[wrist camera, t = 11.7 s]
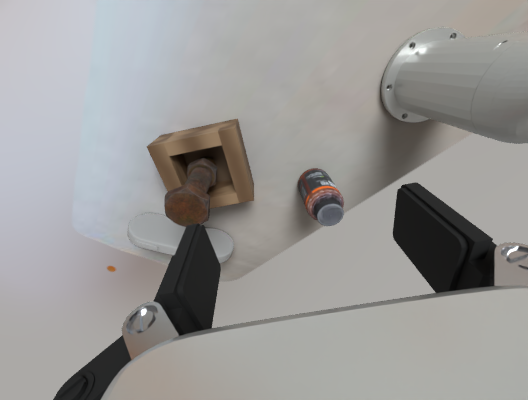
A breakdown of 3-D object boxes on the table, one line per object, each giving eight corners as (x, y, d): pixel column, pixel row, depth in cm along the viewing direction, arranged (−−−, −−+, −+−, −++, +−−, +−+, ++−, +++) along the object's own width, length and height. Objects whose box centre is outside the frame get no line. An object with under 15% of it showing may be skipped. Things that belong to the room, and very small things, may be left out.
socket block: (237, 118, 38) (235, 127, 33) (253, 183, 44) (253, 200, 39) (160, 135, 39) (146, 146, 34) (187, 196, 45) (178, 214, 40)
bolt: (221, 179, 43) (207, 231, 30) (192, 176, 42) (166, 227, 29) (223, 149, 40) (208, 191, 27) (192, 145, 39) (162, 186, 26)
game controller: (138, 217, 47) (117, 245, 40) (139, 208, 46) (118, 235, 39) (232, 241, 51) (229, 270, 44) (235, 233, 50) (232, 261, 43)
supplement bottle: (305, 200, 46) (318, 237, 36) (292, 176, 43) (303, 209, 34) (333, 186, 45) (355, 221, 35) (322, 161, 42) (342, 191, 32)
